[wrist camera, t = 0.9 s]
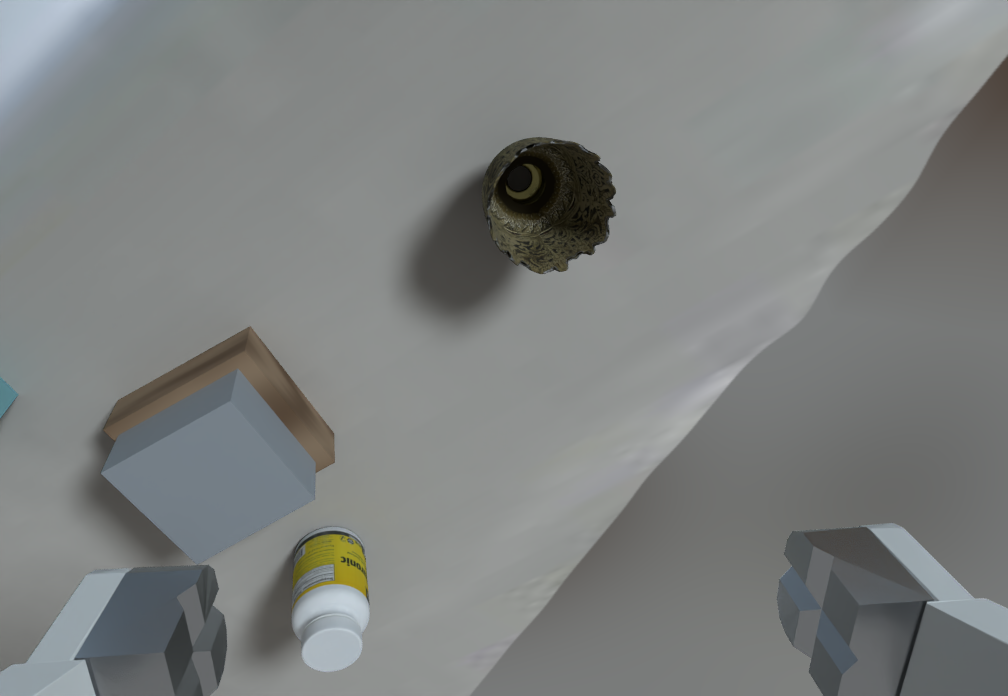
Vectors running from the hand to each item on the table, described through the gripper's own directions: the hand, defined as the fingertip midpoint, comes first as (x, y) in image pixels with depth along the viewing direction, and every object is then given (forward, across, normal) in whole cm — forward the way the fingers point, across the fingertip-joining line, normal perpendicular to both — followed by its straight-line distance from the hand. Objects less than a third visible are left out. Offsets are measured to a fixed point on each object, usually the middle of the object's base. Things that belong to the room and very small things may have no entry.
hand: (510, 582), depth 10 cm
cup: (+39, -4, 0) cm, 39 cm away
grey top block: (+33, +16, +16) cm, 40 cm away
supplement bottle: (+38, +10, +29) cm, 49 cm away
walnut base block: (+37, +16, +16) cm, 43 cm away
